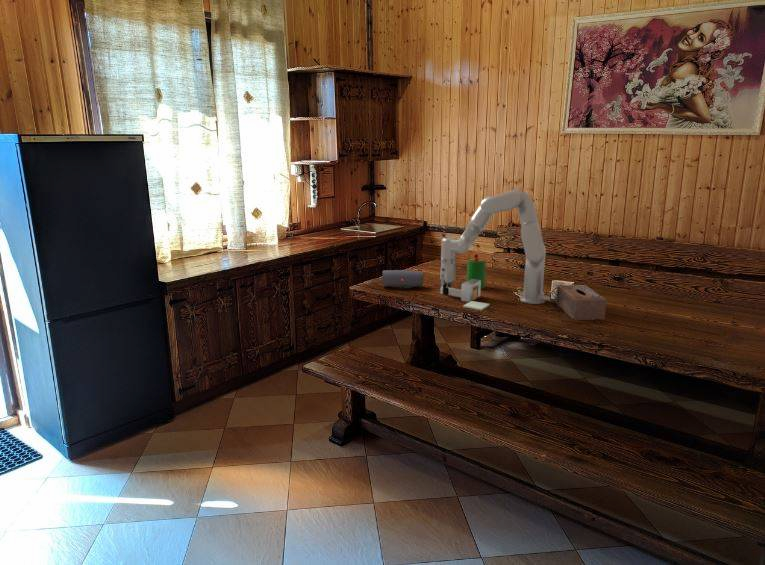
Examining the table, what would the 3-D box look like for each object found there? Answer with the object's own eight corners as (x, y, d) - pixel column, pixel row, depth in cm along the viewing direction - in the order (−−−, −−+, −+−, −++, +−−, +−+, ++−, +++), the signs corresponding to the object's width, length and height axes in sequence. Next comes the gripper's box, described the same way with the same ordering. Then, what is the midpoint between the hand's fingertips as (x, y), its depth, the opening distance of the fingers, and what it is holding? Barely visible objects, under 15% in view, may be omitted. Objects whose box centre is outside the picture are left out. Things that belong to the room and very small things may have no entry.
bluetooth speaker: (381, 289, 308) (381, 271, 305) (383, 284, 317) (383, 267, 314) (422, 290, 305) (422, 272, 303) (423, 285, 314) (423, 269, 312)
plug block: (476, 298, 290) (477, 289, 289) (472, 300, 286) (473, 291, 285) (468, 296, 293) (468, 287, 292) (464, 298, 289) (464, 289, 288)
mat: (489, 305, 278) (489, 304, 277) (481, 310, 270) (481, 309, 269) (471, 302, 283) (471, 300, 283) (463, 307, 275) (463, 305, 275)
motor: (484, 285, 315) (485, 251, 310) (485, 289, 307) (487, 254, 301) (466, 284, 316) (467, 250, 311) (467, 289, 308) (468, 254, 302)
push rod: (467, 297, 292) (467, 290, 291) (465, 298, 290) (465, 291, 289) (442, 292, 300) (442, 286, 299) (440, 293, 298) (440, 287, 297)
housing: (480, 296, 294) (481, 280, 291) (469, 302, 283) (470, 285, 281) (471, 294, 296) (472, 278, 294) (460, 300, 286) (461, 283, 284)
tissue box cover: (604, 320, 256) (606, 299, 253) (573, 320, 256) (575, 300, 253) (583, 303, 281) (585, 285, 278) (555, 304, 281) (557, 285, 278)
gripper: (447, 264, 284) (445, 298, 289) (461, 259, 297) (459, 291, 302) (434, 262, 288) (433, 296, 293) (448, 257, 301) (447, 289, 306)
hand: (446, 293), depth 297 cm, fingers closed on push rod, 2 cm apart
